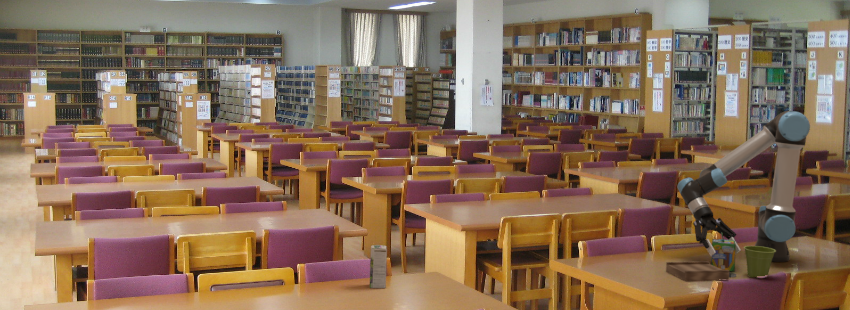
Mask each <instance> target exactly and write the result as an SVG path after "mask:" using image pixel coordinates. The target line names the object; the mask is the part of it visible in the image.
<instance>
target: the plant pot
mask: <svg viewBox="0 0 850 310" xmlns="http://www.w3.org/2000/svg"><path fill="white" fill-rule="evenodd" d="M743 249H744V254H745V259H746V270H747V272H746V273H747V277H749V278H755V277H757V276H765V275H768V276H769V272H770V268H771V264H772V258H773V256H774V252H776V250H774V249H772V248H767V247H761V246H755V245H745V246H743Z"/></svg>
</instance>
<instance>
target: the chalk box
mask: <svg viewBox="0 0 850 310" xmlns="http://www.w3.org/2000/svg"><path fill="white" fill-rule="evenodd" d="M721 234H722V232H721ZM721 234H720V235H721ZM724 238H725V237H724V236H723V234H722V235H721V238H712V242H711V245H712V246H713V248H714V250H715V252H716V253H715V254H714V255H713V256H710V257H711V260H710V262H711V263H710V265H713V266H715V267H717V268H720V269H722V270H729V272H732V273H734V272H735V269H736V268H735V267H736V254H735V247H736V244H735V241H733V240H729V239H724Z"/></svg>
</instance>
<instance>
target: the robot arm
mask: <svg viewBox="0 0 850 310" xmlns="http://www.w3.org/2000/svg"><path fill="white" fill-rule="evenodd" d="M810 123H811V122H810V121H809V119H808V118H807V116H806V115H804V114H803V113H802V112H799V111H794V110H785V111H782V112H781V113H779V114H778V115H776V116H775V117H774V118H773V119H771V120H770V121H769V122H768V123H766V124H765V125H763V127H762V128H763V129H762V130H760V131H759V132H757V133H756V134H754V135H753V136H751V137H750V138H749V139H747V140H746V141H745V142H743V143H742V144H740V145H738V146H737V147H736V148H734V149H733V150H732V151H730V152H729V153H727V154H726V155H725V156H723V157H721V158H720V159H719V160H717V161H716V162H714V163H713V164H711V165H710V166H709V167H706V168H704V169H702V170H701V171H700V173H699V177H697V178H695V179H693V178H692V177H686V178H683V179H681V180H680V181H679V182H678V184H677V189H678V191H679V193H680V196H681V197H682V199H683V201H684V202H685V204H686V205H687V207H688V209H689V211H690V212H691V214H692V215H693V218H694V220H695V221H693V223H692V224H693V227H694V232H695V233H694V234H695V240H696V242H698V243H699V244H701V245H703V247H704V248H705V249H706V251H707V253H708V254H709V255H710V257H711V256H713V255H714V254H715V253H716V252H715V250H714V248H713V246H712V242H710V239H709V238H707V235H708V231H714V232H717V233H718V234H719V235H721V236H722V234H723V238H726V240H733V241H735V244H736V247H735V255H737V254H738V253H739V252H740V251H741V248H740V246H739V245H738V242H737V240H736V238H735V237H737V233H736V232H735V231H734V230H732V229H731V228H730V227H729V226H728V225H727V224H726V223H725V222H724V221H723V219H721V217H718V218H717V219H716V218H714V212H713V210H712V209H711V208H710V206H709V204H708V202H707V201H706V198H704V196H706V195H707V194H709V193H712V192H713V191H714V190H717V189H719V188H721V187H723V186H725V185H726V184H727V183H728V179H727V178H726V177H727V176H729V175H731V174H732V173H733V172H735V171H737V170H738V169H739V168H741V167H742V166H744V165H745V164H746V163H748V162H749V161H751V160H752V159H754V158H755V157H757V156H758V155H760V154H761V153H762V152H764V151H766V150H767V149H768V148H770V147H772V146H773V145H776V146H777V153H776V160H775V167H774V174H773V182H772V190H771V195H770V203H768V204H767V205H760V207H759V209H758V210H759V211H758V222H757V224H758V225H757V240H756V242H755V244H754V246H761V247H767V248H772V249H774V250H776V252H774V256H773V258H772V261H771V263H772V262H776V263H783V262H789V261H790V256H791V255H790V252H789V251H790V250H789V247H788V243H787V241H789V240H790V239H792V238H793V236H795V233H796V223H795V221H796V220H795V219H796V218H795V217H796V209H795V208H794V206H793V205H794V199H795V198H794V197H795V192H796V191H795V190H796V183H797V178H798V177H797V176H798V169H799V164H800V163H799V162H800V155H801V149H803V148H804V147H805V146H806V141H807V136H808V135H809V133H810V130H811V129H810V128H811V125H810ZM721 232H722V234H721Z"/></svg>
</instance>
